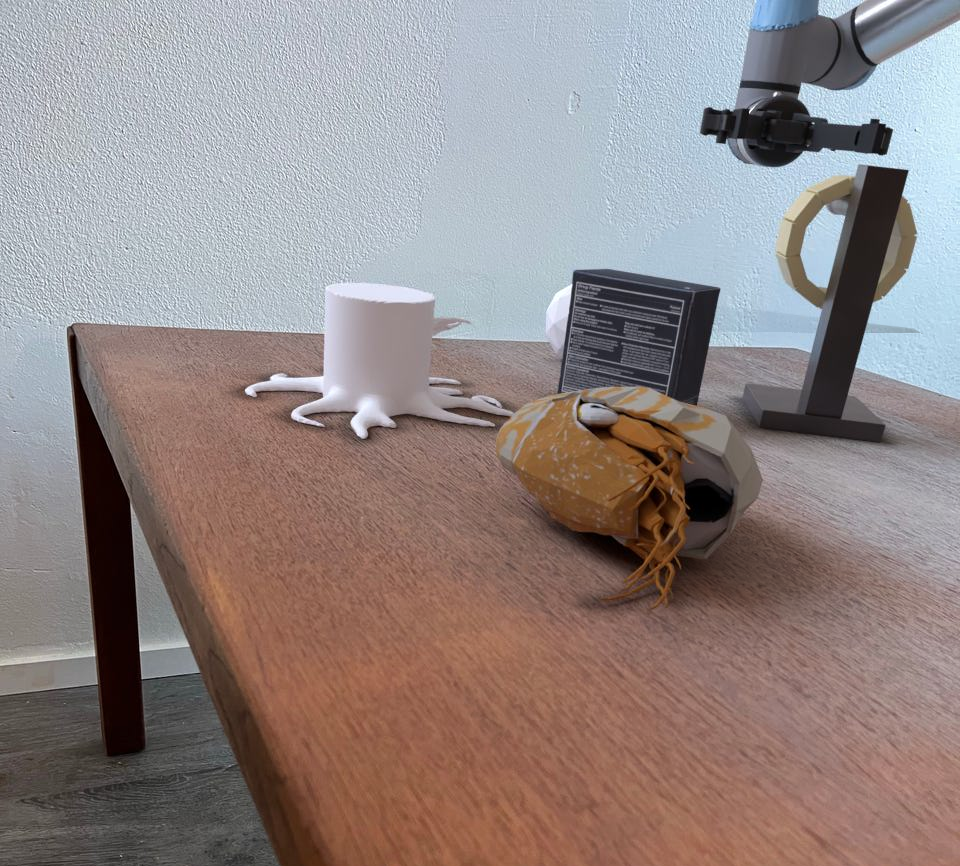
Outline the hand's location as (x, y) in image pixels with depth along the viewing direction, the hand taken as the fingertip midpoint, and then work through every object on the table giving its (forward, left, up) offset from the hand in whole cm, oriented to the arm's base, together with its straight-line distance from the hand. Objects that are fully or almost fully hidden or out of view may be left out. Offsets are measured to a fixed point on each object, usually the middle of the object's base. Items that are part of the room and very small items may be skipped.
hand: (811, 131), depth 99 cm
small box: (+16, +31, -23) cm, 42 cm away
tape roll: (0, +24, -13) cm, 27 cm away
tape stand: (0, +25, -23) cm, 34 cm away
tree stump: (+36, +38, -23) cm, 57 cm away
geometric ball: (+20, +14, -23) cm, 33 cm away
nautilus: (+18, +63, -23) cm, 69 cm away
